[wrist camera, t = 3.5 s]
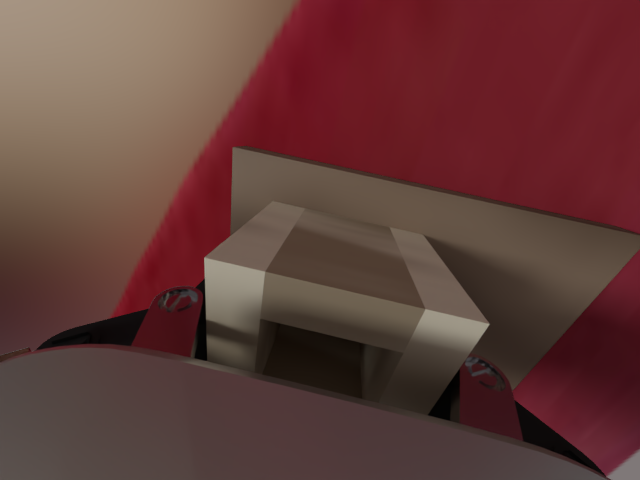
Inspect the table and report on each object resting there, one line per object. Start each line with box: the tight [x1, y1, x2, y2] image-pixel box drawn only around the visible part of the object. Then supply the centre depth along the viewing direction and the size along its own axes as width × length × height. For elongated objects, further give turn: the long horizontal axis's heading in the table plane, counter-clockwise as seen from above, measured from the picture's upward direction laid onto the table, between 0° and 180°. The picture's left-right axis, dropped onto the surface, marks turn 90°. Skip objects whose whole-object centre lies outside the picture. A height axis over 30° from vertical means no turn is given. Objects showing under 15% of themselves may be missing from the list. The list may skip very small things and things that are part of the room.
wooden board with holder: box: [231, 146, 640, 391], centre depth 11 cm, size 24×16×8 cm, turn 169°
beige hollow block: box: [204, 201, 490, 415], centre depth 9 cm, size 6×6×5 cm
